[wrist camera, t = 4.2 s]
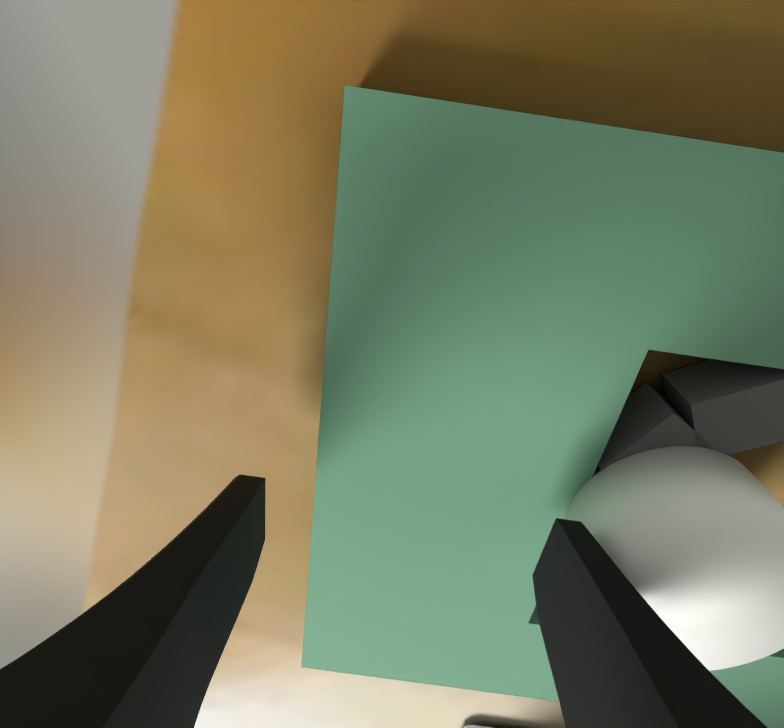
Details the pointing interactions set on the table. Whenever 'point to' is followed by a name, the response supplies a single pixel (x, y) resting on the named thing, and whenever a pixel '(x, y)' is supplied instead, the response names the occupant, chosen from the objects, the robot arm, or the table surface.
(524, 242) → the mat
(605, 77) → the table surface
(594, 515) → the white smooth pebble
